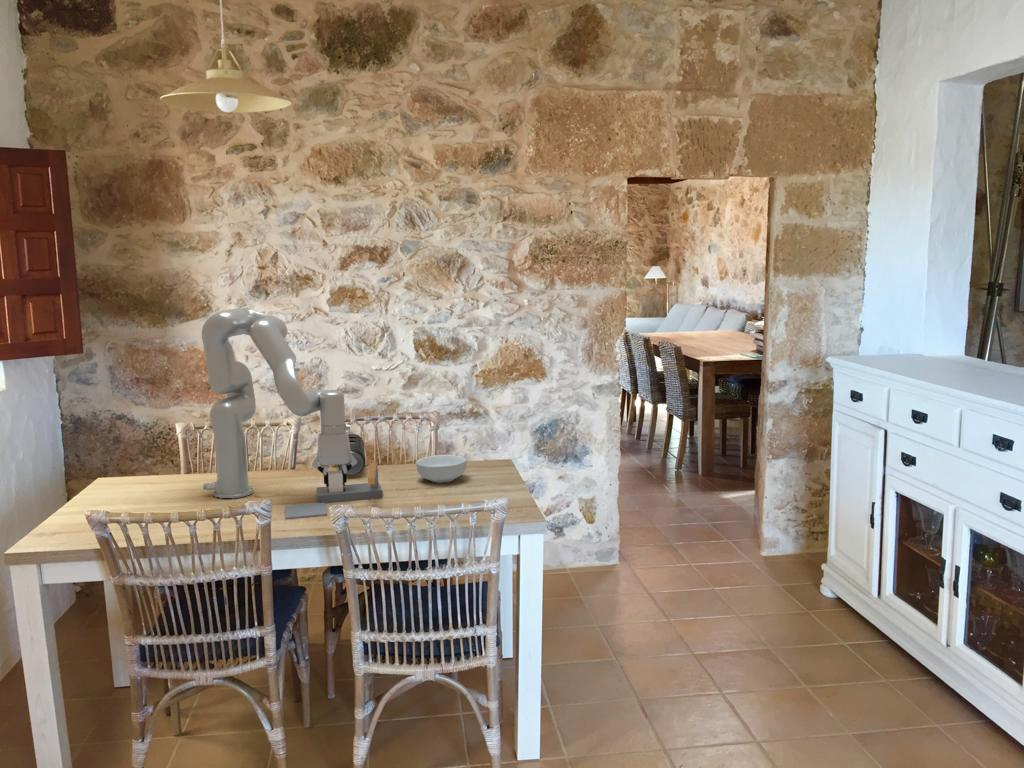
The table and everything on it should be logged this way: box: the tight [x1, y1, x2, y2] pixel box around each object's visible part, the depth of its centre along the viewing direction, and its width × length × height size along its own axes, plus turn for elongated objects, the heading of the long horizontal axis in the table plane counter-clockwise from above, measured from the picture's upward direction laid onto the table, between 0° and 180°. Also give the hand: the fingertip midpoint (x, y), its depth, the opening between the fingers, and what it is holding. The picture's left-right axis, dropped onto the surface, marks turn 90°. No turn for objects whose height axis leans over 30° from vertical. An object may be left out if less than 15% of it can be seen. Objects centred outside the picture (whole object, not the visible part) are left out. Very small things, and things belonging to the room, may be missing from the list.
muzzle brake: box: [337, 433, 366, 476], centre depth 305 cm, size 10×28×10 cm, turn 10°
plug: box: [327, 469, 343, 493], centre depth 270 cm, size 4×4×8 cm
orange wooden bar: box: [367, 460, 379, 484], centre depth 264 cm, size 20×3×2 cm, turn 7°
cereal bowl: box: [415, 454, 467, 484], centre depth 289 cm, size 17×17×7 cm
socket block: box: [316, 468, 384, 504], centre depth 271 cm, size 20×10×8 cm, turn 105°
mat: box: [284, 502, 328, 520], centre depth 257 cm, size 12×12×1 cm
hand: (335, 484), depth 270 cm, fingers closed on plug, 4 cm apart
